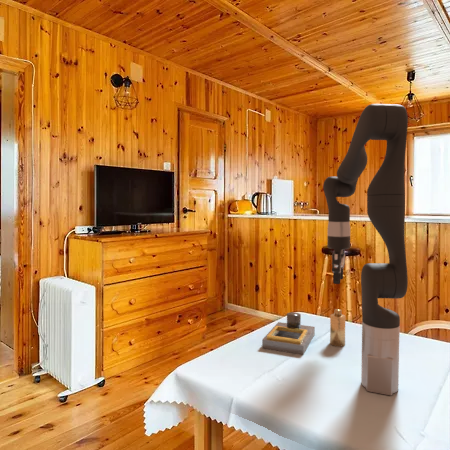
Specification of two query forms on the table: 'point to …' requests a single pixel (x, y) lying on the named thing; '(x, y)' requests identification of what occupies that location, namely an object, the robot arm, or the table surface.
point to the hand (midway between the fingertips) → (338, 281)
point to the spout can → (337, 328)
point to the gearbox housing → (289, 335)
